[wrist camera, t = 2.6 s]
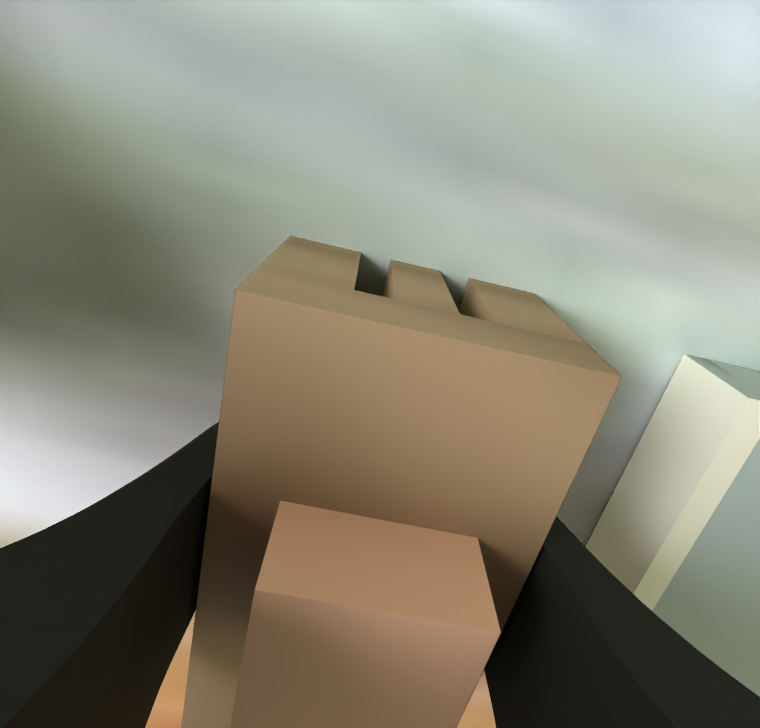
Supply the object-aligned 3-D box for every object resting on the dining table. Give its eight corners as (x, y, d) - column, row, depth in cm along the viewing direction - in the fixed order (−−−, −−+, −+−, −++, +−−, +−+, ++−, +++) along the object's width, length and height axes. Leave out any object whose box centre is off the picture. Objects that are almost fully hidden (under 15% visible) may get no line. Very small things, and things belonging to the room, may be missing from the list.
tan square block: (424, 669, 9) (433, 775, 7) (253, 641, 8) (226, 744, 7) (477, 537, 8) (501, 631, 6) (280, 501, 7) (254, 589, 6)
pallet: (419, 607, 14) (433, 776, 10) (235, 575, 13) (180, 739, 10) (534, 293, 10) (621, 376, 6) (290, 235, 10) (235, 290, 6)
